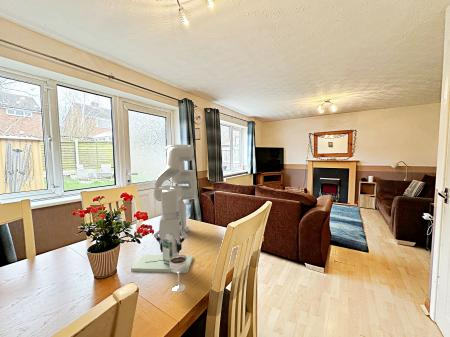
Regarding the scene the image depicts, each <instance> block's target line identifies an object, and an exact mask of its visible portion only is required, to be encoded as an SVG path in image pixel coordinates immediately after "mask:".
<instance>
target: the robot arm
mask: <svg viewBox="0 0 450 337" xmlns="http://www.w3.org/2000/svg"><path fill="white" fill-rule="evenodd" d="M165 152H166V161H165V162H166V163H165V169H164V170H163V171H161V172H160V173H159V175H158V176H157V177H156V179H155V182H154V189H153V197H154V199H155V201H156V202H161V203H160V204H161V217H160V220H159V226H158V227H159V230H158V231H157V232H156V233H154V234H153V237H154V239H155V240H156V241H157V242H158V244H159V249H160V253H163V246H162V239H165V236H166V234H173V238H174V240H176V241H177V242H178V245H177V252H178V253H179V254H180V252H181V251H182V247H183V246H182V244H183V242H184V241H186V239H187V237H188V234H187V233H188V232H189V231H190V230H189V229H190V228H189V227H188V226H187V204H186V203H185V202H184V201H185V200H195V198H196V197H197V175H196V172H195V170H192V169H185V162H191V161H192V160H193V156H194V152H195V151H194V147H193V145H192V144H169V145H166V146H165ZM169 179H171V181H172V183H173V184H174V185H163V186H162V184H164V182H165V181H167V180H169ZM181 236H183V237H181Z"/></svg>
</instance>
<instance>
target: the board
mask: <svg viewBox="0 0 450 337" xmlns="http://www.w3.org/2000/svg"><path fill="white" fill-rule="evenodd" d="M185 256H186V257H187V260H186V261H187V267H186V269H185V270H184V271H183V272H181V273H182V274H183V273H185V274H187V273H188V272H189V271H190V267H191V266H192V263H193V259H194V255H185ZM130 272H138V273H139V272H141V273H143V272H144V273H146V272H147V273H174V272H173V271H172V270H171V269H170V264H168V263H165V262H163V254H142V255H141V257H140V258H139V259H138V260H137V261H136V262H135V263H134V264H133V266H131V268H130ZM181 273H180V274H181Z"/></svg>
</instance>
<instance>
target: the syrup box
mask: <svg viewBox="0 0 450 337" xmlns="http://www.w3.org/2000/svg"><path fill="white" fill-rule="evenodd" d="M177 245H178V242H177V241H176V240H174V238H173V234H166V236H165V239H162V246H163V252H162V255H163V262H165V263H168V264H170V258H171V257H173V256H175V255H180V252H179V253H178V252H177Z"/></svg>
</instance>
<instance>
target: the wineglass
mask: <svg viewBox="0 0 450 337" xmlns="http://www.w3.org/2000/svg"><path fill="white" fill-rule="evenodd" d="M186 256H187V255H185V254H179V255H175V256H173V257H171V258H170V269H171V270H172V271H173V272H172V273H173V274H177V284H175V285H174V286H173V287H172V291H173V292H174V293H182V292H183V291H184V290H186V285H185V284H183V283H180V281H181V280H180V279H181V278H180V276H181V272H183V271H184V270H185V269H186V267H187V261H186V260H187V257H186Z"/></svg>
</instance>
